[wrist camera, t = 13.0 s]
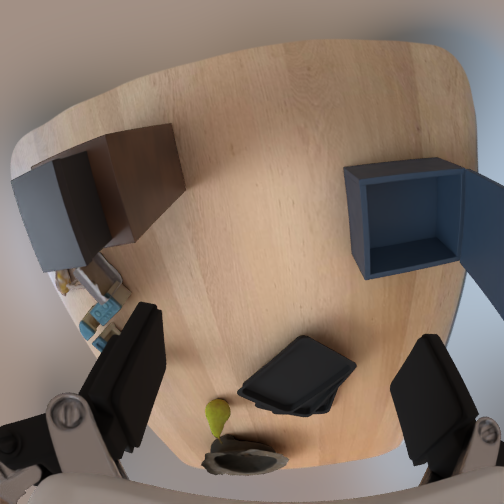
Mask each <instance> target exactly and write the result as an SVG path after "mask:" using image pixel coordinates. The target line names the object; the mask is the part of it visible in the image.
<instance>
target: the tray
mask: <svg viewBox="0 0 504 504" xmlns="http://www.w3.org/2000/svg"><path fill="white" fill-rule="evenodd" d="M356 367H357V365H356V363H355V362H353V361H351V360H349V359H347V358H346V357H344V356H342V355H340V354H339V353H337V352H335V351H333V350H331V349H330V348H328V347H326V346H324V345H322V344H321V343H319V342H317V341H315V340H314V339H312V338H310V337H308V336H305V335H302V336H299V337H297V338H296V339H295V340H294V341H293V342H291V343H290V344H289V345H288V346H287V347H286V348H285V349H283V350H282V351H281V352H280V353H279V354H278V355H276V356H275V357H274V358H273V359H272V360H271V361H269V362H268V363H267V364H266V365H265V366H263V367H262V368H261V369H260V370H259V371H257V372H256V373H255V374H254V375H252V376H251V377H250V378H249V379H247V380H246V381H245V382H244V383H243V386H242V387H241V388H240V389H239V390H238V391H237V394H238V395H239V396H241V397H243V398H245V399H248V400H250V401H252V402H255V406H256V407H257V408H260V409H264V410H269V411H272V413H274V414H289V415H294V416H300V417H309V416H311V415H312V414H324V413H328V412H329V411H330V409H331V406H332V403H333V401H334V398H335V395H336V393H337V390H338V387H339V386H340V385H341V384H342V383H343V382H344V381H345V380H346V379H347V378H348V376H349V375H350V374H351V373H352V372H353V371H354V370H355V368H356Z"/></svg>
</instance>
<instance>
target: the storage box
mask: <svg viewBox="0 0 504 504" xmlns="http://www.w3.org/2000/svg"><path fill="white" fill-rule="evenodd" d="M343 169H344V177H345V185H346V194H347V203H348V213H349V225H350V237H351V251H352V255H353V257H354V259H355V261H356V263H357V265H358V267H359V269H360V271H361V273H362V275H363V277H364V279H365V280H369V279H375V278H380V277H385V276H390V275H395V274H400V273H405V272H410V271H414V270H419V269H424V268H428V267H433V266H438V265H442V264H446V263H451V262H455V261H459V260H460V255H461V247H462V238H463V227H464V212H465V168H464V167H461V166H459V165H456V164H454V163H451V162H448V161H446V160H443V159H440V158H438V157H434V158H422V159H410V160H400V161H390V162H381V163H372V164H364V165H356V166H349V167H343Z"/></svg>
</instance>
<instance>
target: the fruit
mask: <svg viewBox="0 0 504 504" xmlns="http://www.w3.org/2000/svg"><path fill="white" fill-rule="evenodd" d="M205 414H206V417H207V420H208V422H209V425H210V429H211V431H212V434H213V435H214V436H215V437H216V438H218V439H219V441H220V443H221V444H223V442H222V441H221V440H220V434H221V432H222V430H223V427H224V424H225V422H226V421H227V420H228V418H229V417H230V407H229V405H228V403H227V402H226V401H224V400H221V399H215V400H212V401H211V402H209V403H208V405H207V406H206V409H205Z"/></svg>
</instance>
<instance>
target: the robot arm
mask: <svg viewBox="0 0 504 504" xmlns="http://www.w3.org/2000/svg"><path fill="white" fill-rule="evenodd" d="M165 370H166V354H165V344H164V332H163V320H162V311H161V310H159V309H157V306H156V305H155V304H151V303H145V302H139V303H138V305H137V306H136V308H135V310H134V311H133V313H132V315H131V316H130V318H129V320H128V321H127V323H126V325H125V326H124V328H123V330H122V332H121V333H120V335H117V334H114V335H112V336H111V337H110V339H109V340H108V342H107V344H106V345H105V347H104V349H103V351H102V352H101V354H100V356H99V358H98V359H97V361H96V363H95V365H94V366H93V368H92V370H91V372H90V374H89V375H88V377H87V379H86V381H85V383H84V385H83V386H82V388H81V390H80V392H79V394H75V393H62V394H59V395H57V396H55V397H54V398H53V399H51V401H50V402H49V404H48V405H47V409H46V413H44V414H41V415H38V416H34V417H31V418H28V419H24V420H21V421H17V422H14V423H10V424H6V425H3V426H1V427H0V504H17V501H18V499H19V498H20V497H21V496H23V495H24V494H25V493H26V492H25V490H27V489H28V488H29V487H31V486H32V485H34V486H37V487H36V489H35V490H34V492H33V494H32V496H31V497H30V499H29V501H28V503H27V504H504V442H503V441H501V431H500V428H499V426H498V424H497V423H496V422H495V421H494V420H493V419H492V418H489V417H481V418H479V419H478V420H477V421H476V420H475V418H476V417H477V416H478V415H479V413H478V411H477V408H476V406H475V404H474V402H473V400H472V398H471V396H470V394H469V392H468V389H467V387H466V385H465V383H464V381H463V379H462V377H461V375H460V373H459V371H458V370H457V368H456V366H455V364H454V362H453V360H452V358H451V357H450V355H449V353H448V351H447V349H446V347H445V346H444V344H443V342H442V340H441V339H440V337H439V336H438V335H437V334H424V335H422V337H421V338H419V339H418V340H417V342H416V344H415V345H414V347H413V349H412V351H411V352H410V354H409V356H408V357H407V359H406V361H405V362H404V364H403V365H402V367H401V369H400V370H399V372H398V373H397V375H396V376H395V378H394V379H393V381H392V383H391V385H390V392H391V395H392V398H393V402H394V405H395V408H396V411H397V415H398V418H399V422H400V425H401V429H402V432H403V436H404V440H405V443H406V447H407V451H408V455H409V458H410V459H411V460H412V461H413V465H414V466H417V465H422V464H425V463H426V462H428V468H427V470H426V472H425V474H424V476H423V478H422V480H421V483H420V484H419V486H418V487H414V488H410V489H406V490H402V491H396V492H391V493H386V494H380V495H375V496H368V497H361V498H353V499H344V500H334V501H320V502H259V501H244V500H233V499H224V498H217V497H209V496H202V495H196V494H190V493H185V492H180V491H174V490H170V489H165V488H160V487H156V486H152V485H147V484H143V483H138V482H135V481H131V480H129V478H128V476H127V474H126V472H125V470H124V468H123V466H122V464H121V462H120V460H119V459H121V458H122V456H123V453H124V451H126V452H129V453H132V452H133V450H134V447H137V448H138V447H139V446H140V444H141V441H142V438H143V435H144V432H145V429H146V426H147V423H148V420H149V417H150V414H151V411H152V408H153V405H154V402H155V399H156V396H157V393H158V390H159V387H160V385H161V382H162V379H163V376H164V373H165Z"/></svg>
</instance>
